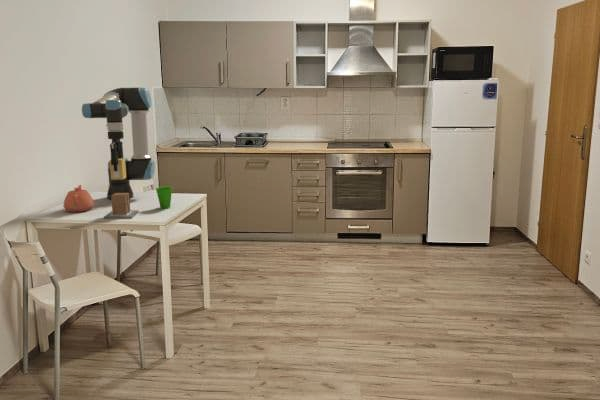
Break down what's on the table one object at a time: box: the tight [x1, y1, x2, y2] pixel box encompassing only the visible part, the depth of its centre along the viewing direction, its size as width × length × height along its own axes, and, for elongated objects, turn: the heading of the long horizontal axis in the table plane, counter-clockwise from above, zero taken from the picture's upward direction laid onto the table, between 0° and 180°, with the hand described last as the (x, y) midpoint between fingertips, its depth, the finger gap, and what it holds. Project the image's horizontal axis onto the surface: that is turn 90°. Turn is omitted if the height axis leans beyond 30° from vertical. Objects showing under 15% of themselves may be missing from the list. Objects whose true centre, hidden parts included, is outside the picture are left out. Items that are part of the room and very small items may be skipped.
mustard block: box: [109, 157, 126, 180], centre depth 279 cm, size 6×6×10 cm
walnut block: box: [111, 193, 131, 215], centre depth 283 cm, size 7×7×10 cm
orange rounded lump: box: [63, 184, 95, 213], centre depth 296 cm, size 22×15×12 cm
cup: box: [155, 186, 173, 210], centre depth 300 cm, size 9×9×11 cm
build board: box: [103, 209, 140, 220], centre depth 284 cm, size 14×14×1 cm
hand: (118, 176), depth 279 cm, fingers closed on mustard block, 6 cm apart
